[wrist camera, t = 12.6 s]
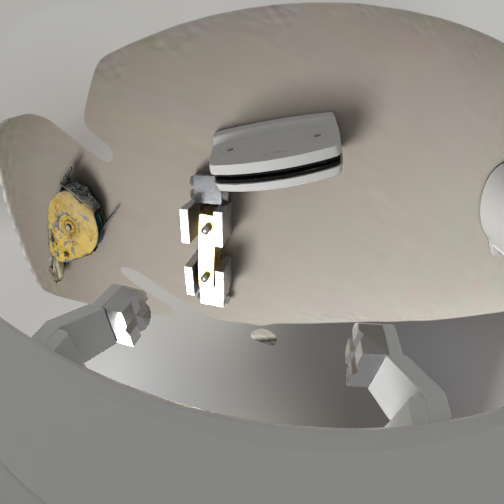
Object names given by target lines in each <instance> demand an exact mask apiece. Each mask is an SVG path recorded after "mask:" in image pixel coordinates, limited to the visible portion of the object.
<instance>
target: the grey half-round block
mask: <svg viewBox="0 0 504 504" xmlns="http://www.w3.org/2000/svg"><path fill="white" fill-rule="evenodd" d="M342 164H343V158H342V148H341V138H340V130H339V127H338V124H337V121H336V118H335V115H334V113H333V112H324V113H315V114H307V115H300V116H293V117H286V118H280V119H274V120H268V121H263V122H258V123H253V124H248V125H243V126H238V127H234V128H229V129H225V130H221V131H217V132H215V134H214V135H213V150H212V154H211V157H210V161H209V167H210V172H211V174H213V175H214V176H215V180H214V182H215V184H216V185H217V187H218V188H219V189H220V190H221V191H230V192H244V191H262V190H271V189H279V188H285V187H291V186H296V185H301V184H306V183H311V182H315V181H319V180H322V179H326V178H329V177H332V176H335V175H338V174H340V173H341V171H342Z"/></svg>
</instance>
